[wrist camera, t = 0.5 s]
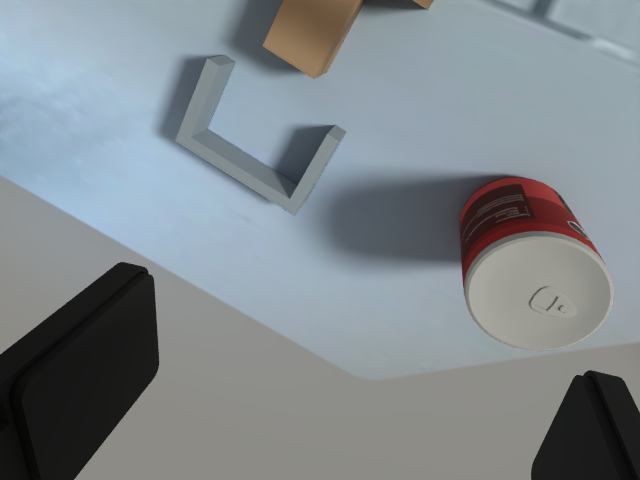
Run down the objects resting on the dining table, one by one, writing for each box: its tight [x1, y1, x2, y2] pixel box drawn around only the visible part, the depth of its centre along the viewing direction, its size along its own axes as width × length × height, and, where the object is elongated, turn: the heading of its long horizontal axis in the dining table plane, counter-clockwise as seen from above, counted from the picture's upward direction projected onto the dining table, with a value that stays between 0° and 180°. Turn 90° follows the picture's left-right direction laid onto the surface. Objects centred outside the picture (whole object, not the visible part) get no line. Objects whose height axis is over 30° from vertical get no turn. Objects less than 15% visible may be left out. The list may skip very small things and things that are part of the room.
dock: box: [175, 55, 346, 216], centre depth 36 cm, size 7×11×3 cm, turn 61°
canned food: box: [460, 177, 614, 351], centre depth 31 cm, size 8×8×11 cm
